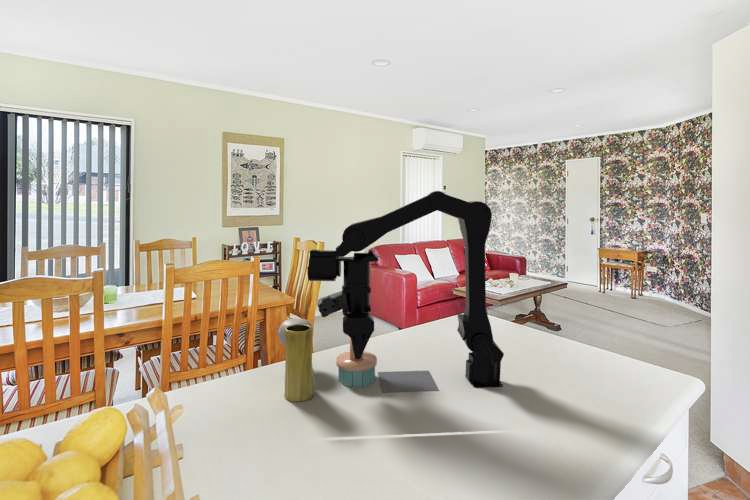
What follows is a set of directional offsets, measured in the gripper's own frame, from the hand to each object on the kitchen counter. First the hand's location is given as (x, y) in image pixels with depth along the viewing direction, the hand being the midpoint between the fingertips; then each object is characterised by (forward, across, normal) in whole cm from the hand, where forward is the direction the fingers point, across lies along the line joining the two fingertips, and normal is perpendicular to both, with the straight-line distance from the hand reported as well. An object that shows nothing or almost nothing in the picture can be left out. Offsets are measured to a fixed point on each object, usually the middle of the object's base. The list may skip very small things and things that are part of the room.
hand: (356, 350), depth 89 cm
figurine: (+7, -7, -14) cm, 17 cm away
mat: (+7, +2, +11) cm, 13 cm away
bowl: (+7, 0, 0) cm, 7 cm away
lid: (+3, 0, 0) cm, 3 cm away
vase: (+7, +6, -12) cm, 15 cm away
